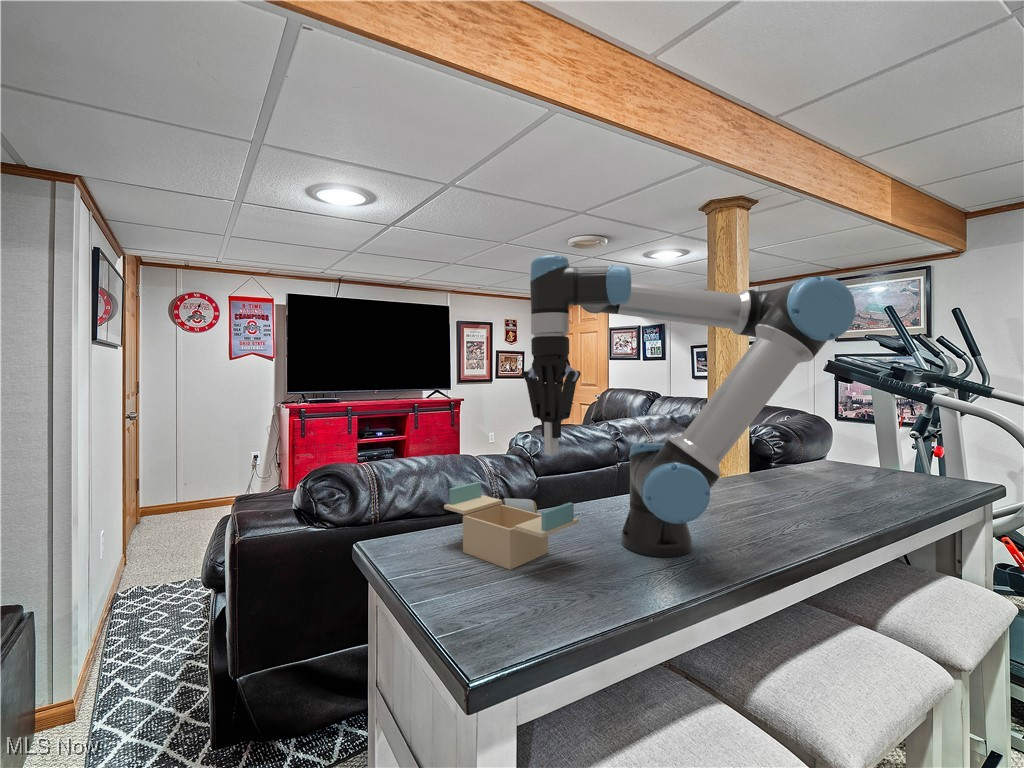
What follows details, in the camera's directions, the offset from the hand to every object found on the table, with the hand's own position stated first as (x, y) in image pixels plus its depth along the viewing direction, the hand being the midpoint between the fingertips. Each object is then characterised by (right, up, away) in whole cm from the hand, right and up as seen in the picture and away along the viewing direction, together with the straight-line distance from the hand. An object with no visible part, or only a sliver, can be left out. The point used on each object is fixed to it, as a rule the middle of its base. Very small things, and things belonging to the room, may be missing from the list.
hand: (551, 453), depth 101 cm
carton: (-9, -23, +8) cm, 26 cm away
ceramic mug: (-7, -22, +25) cm, 34 cm away
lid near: (-1, -15, 0) cm, 15 cm away
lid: (-17, -14, +14) cm, 26 cm away
